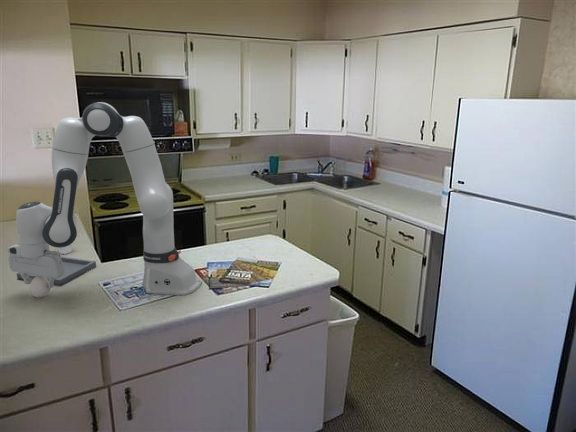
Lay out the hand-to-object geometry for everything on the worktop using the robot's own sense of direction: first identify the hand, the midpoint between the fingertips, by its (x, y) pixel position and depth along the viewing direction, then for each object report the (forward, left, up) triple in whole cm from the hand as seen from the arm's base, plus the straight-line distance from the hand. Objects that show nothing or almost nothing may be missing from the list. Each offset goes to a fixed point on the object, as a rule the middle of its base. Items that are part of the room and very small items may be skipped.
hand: (39, 285), depth 155 cm
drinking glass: (+24, -39, -5) cm, 46 cm away
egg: (0, 0, -5) cm, 5 cm away
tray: (+10, -19, -4) cm, 22 cm away
